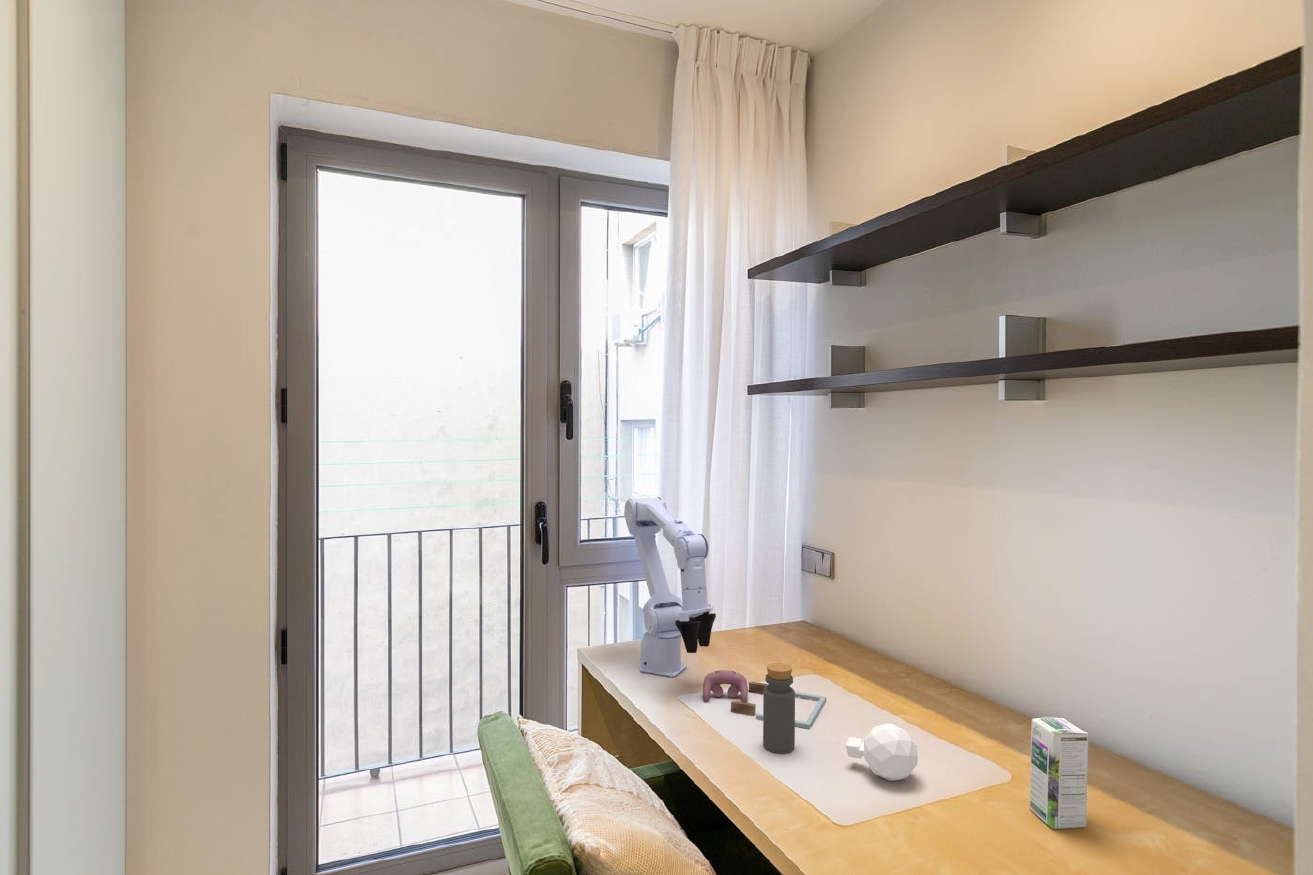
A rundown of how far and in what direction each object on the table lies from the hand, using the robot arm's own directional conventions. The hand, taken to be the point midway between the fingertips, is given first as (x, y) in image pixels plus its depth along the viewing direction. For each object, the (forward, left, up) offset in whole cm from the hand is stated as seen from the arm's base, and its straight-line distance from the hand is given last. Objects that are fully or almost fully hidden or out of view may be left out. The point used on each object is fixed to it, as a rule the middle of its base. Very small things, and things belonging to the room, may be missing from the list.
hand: (698, 649), depth 156 cm
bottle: (+24, -18, -10) cm, 31 cm away
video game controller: (+7, -1, -10) cm, 12 cm away
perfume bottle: (+43, -20, -10) cm, 48 cm away
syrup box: (+69, -23, -10) cm, 73 cm away
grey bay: (+21, 0, -10) cm, 23 cm away
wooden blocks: (+13, 0, -10) cm, 16 cm away
